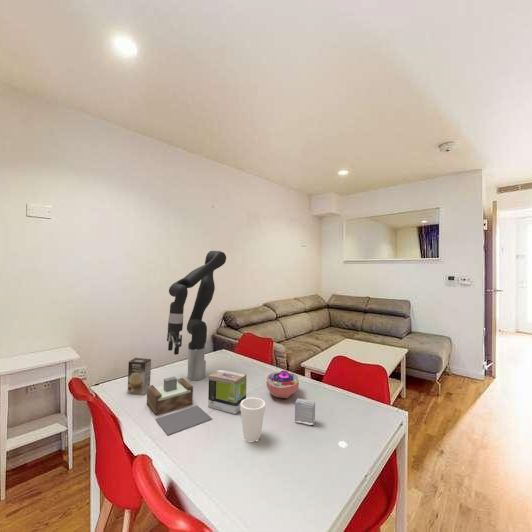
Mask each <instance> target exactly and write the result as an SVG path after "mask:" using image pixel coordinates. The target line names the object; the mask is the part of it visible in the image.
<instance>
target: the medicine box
mask: <svg viewBox="0 0 532 532" xmlns="http://www.w3.org/2000/svg"><path fill="white" fill-rule="evenodd" d="M314 420H315V421H316V401H315V400H310V399H304V398H296V401H295V402H294V422H295V421H301V422H308V423H314V424H315V422H314Z"/></svg>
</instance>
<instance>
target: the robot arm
mask: <svg viewBox="0 0 532 532" xmlns="http://www.w3.org/2000/svg"><path fill="white" fill-rule="evenodd" d="M226 262H227V255H226V254H225V252H223V251H220V250H210V251H208V253H207V254H206V256H205V260H204V264H203V265H201V266H199V267H197V268H195V269H194V270H191V272H188V274H186V275H185V276H184V277H182V278H180V279H178V280H177V281H176V282H173V283H172V284H171V285H170V286H169V288H168V293H169V295H170V296H171V297H173V298H174V301H172V302H170V304H169V313H168V314H169V315H168V320H167V333H166V335H167V336H166V342H167V344H168V346H167V347H168V348H167V351H169V352H171V351H173V355H179V351H180V347H182V342H183V335H182V334H180V332H182V331H183V325H184V309H185V307H184V306H185V304H186V301H187V297H188V293H189V292H188V289H191V288H194V286H195V285H197V284H198V283H199V282H200V283H199V286H198V290H197V293H196V296H195V297H196V298H195V301H194V305H193V309H192V311H191V314H190V316H189V319H188V322H187V324H186V331H187V333H188V334H190V335H191V341H189V342H188V345H187V346H188V347H187V349H188V351H187V379H188V380H189V381H200V380H203V379H204V378H206V371H207V370H206V367H207V361H206V359H205V358H206V357H205V354H206V351H205V349H206V348H205V346H206V343H207V339H208V338H207V336H208V335H207V333H208V326H207V323H206V322H205V321H203V317H204V315H205V314H204V313H205V312H206V310H207V308H208V306H209V305H210V303H211V302H212V300H213V297H214V293H215V289H216V286H215V280H214V272H215V270H217V269H219V268H221V267H223V266H224V265H225V263H226ZM173 348H174V350H173Z"/></svg>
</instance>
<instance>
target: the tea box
mask: <svg viewBox="0 0 532 532" xmlns="http://www.w3.org/2000/svg"><path fill="white" fill-rule="evenodd" d="M207 390H208V392H207V394H208V397H207V403H208V405H207V407H208V408H212V409H215V410H218V411H222V412H226V413H229V414H234V415H237V414H238V413H239V412H241V410H240V403H241V401H242V400H244V399H246V398H247V373H242V372H238V371H231V370H226V369H218V370H216V371H215V372H213V373H211V374H209V375H208V389H207ZM238 411H239V412H238Z"/></svg>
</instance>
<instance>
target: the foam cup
mask: <svg viewBox="0 0 532 532" xmlns="http://www.w3.org/2000/svg"><path fill="white" fill-rule="evenodd" d="M265 411H266V402H265V400H263V399H261V398H260V397H246V399H244V400H242V401H241V403H240V415H241V417H240V418H241V424H242V433H243V434H242V435H243V440H244V439H246V440H247V441H256V440H258V439H259V438H260V439H261V436H262V435H261V434H262V428H263V421H264V415H265ZM247 441H246V442H247Z"/></svg>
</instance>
